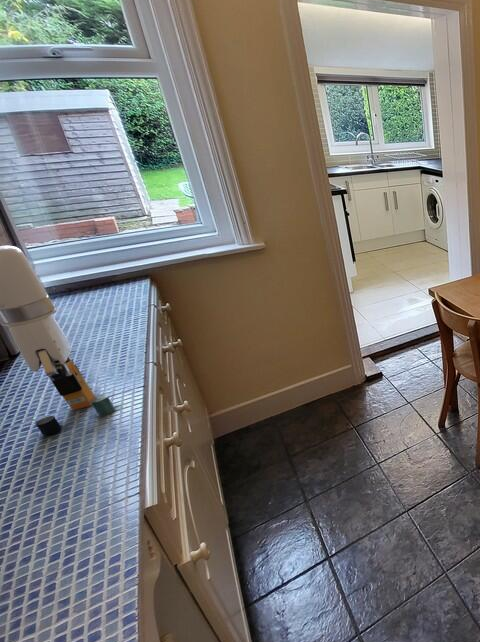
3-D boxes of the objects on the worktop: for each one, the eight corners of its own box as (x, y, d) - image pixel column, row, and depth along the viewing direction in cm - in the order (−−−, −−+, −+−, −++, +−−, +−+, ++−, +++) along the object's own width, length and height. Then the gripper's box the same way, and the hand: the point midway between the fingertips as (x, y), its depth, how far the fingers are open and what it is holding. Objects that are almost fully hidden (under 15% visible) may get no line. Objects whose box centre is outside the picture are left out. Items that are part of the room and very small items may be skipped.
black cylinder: (39, 436, 80) (31, 424, 79) (55, 427, 83) (47, 415, 81) (50, 437, 80) (42, 425, 78) (65, 428, 82) (57, 416, 81)
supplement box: (76, 403, 90) (52, 364, 85) (96, 397, 91) (74, 359, 87) (70, 411, 87) (45, 372, 83) (91, 406, 88) (67, 367, 84)
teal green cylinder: (95, 415, 85) (87, 402, 84) (108, 407, 88) (100, 394, 86) (105, 416, 85) (97, 403, 83) (118, 408, 87) (110, 395, 86)
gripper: (7, 303, 83) (54, 378, 91) (-15, 332, 71) (41, 415, 79) (58, 292, 87) (99, 365, 95) (46, 318, 75) (94, 398, 83)
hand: (73, 387), depth 87 cm, fingers closed on supplement box, 3 cm apart
